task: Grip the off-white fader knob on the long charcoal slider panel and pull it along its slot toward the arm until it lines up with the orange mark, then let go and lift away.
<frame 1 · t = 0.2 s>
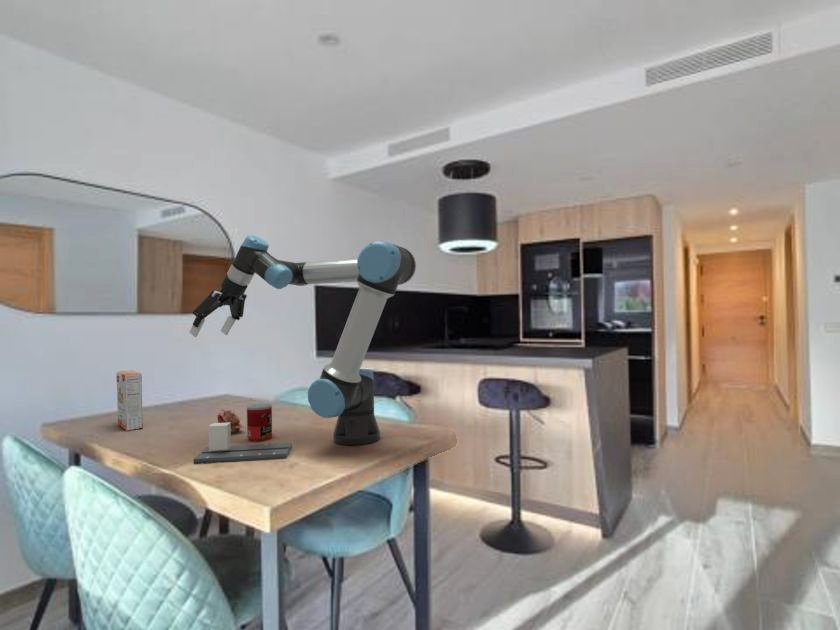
hand: (208, 333, 158), 35 cm above the table, tool tilted 35°, fingers open, 13 cm apart
cracker box: (129, 427, 179), on the table
canned food: (259, 439, 157), on the table
flower: (230, 433, 167), on the table
fader panel: (245, 455, 139), on the table
fader: (220, 438, 138), point 5 cm above the table, slide at 7.0 cm
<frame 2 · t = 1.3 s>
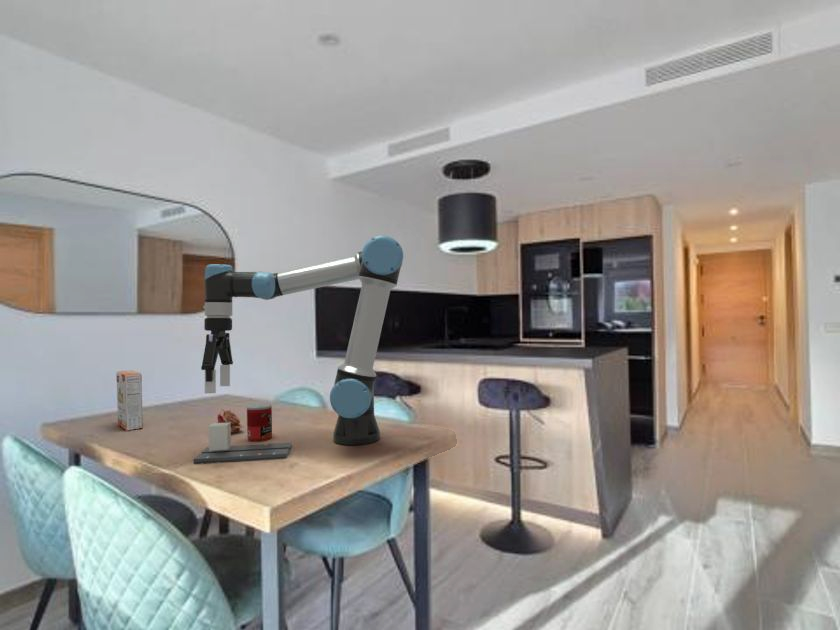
hand: (217, 389, 139), 19 cm above the table, tool pointing down, fingers open, 13 cm apart
nothing on the table moved.
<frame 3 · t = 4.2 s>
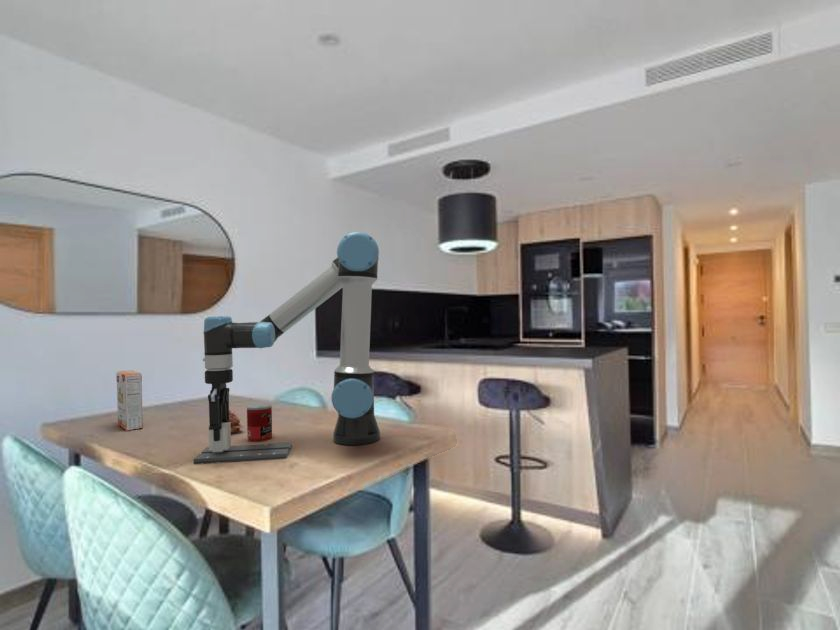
hand: (220, 449, 138), 2 cm above the table, tool pointing down, fingers closed on fader, 4 cm apart
fader: (220, 438, 138), point 5 cm above the table, slide at 7.0 cm, touching gripper
everything else where it was.
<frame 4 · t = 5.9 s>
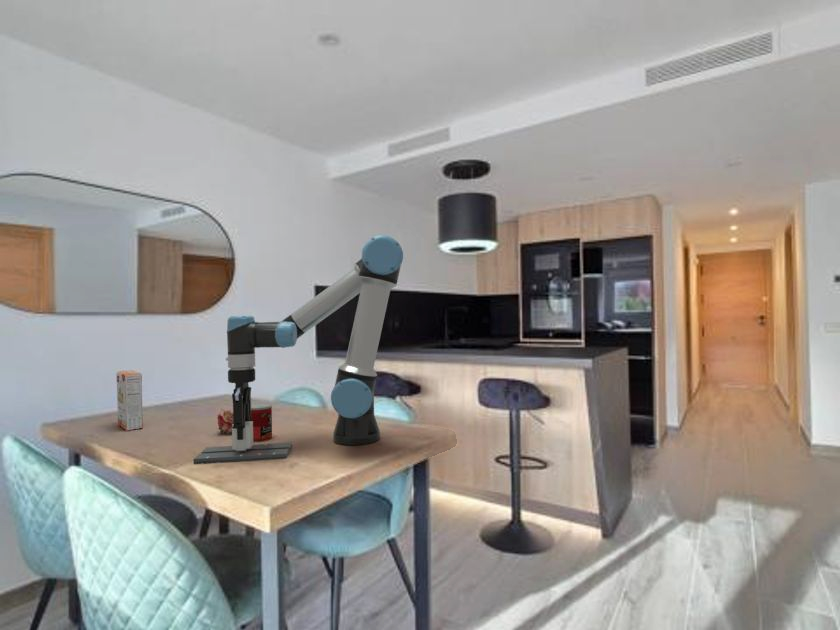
hand: (243, 447, 139), 2 cm above the table, tool pointing down, fingers closed on fader, 4 cm apart
fader: (242, 437, 139), point 5 cm above the table, slide at 0.6 cm, touching gripper
everything else where it was.
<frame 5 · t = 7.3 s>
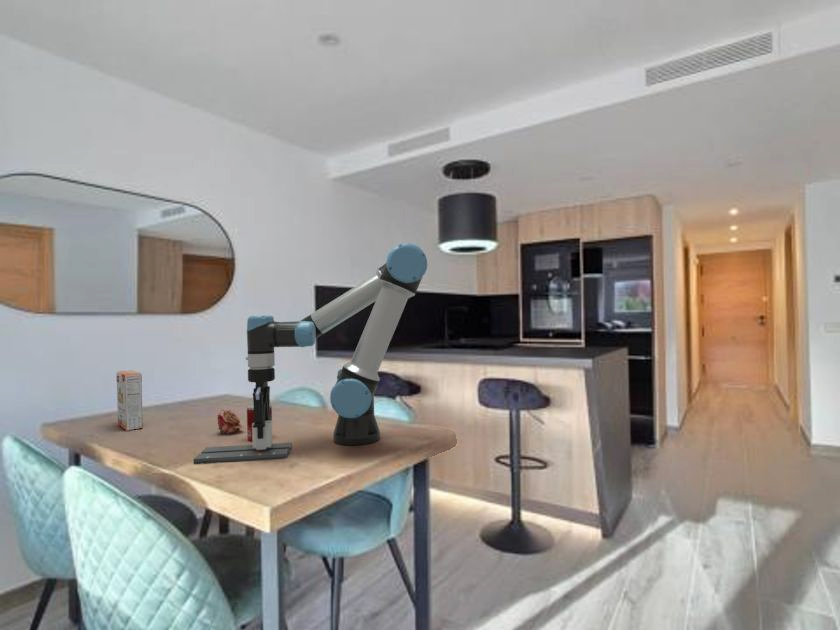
hand: (262, 446, 139), 2 cm above the table, tool pointing down, fingers closed on fader, 4 cm apart
fader: (262, 436, 139), point 5 cm above the table, slide at -5.0 cm, touching gripper
everything else where it was.
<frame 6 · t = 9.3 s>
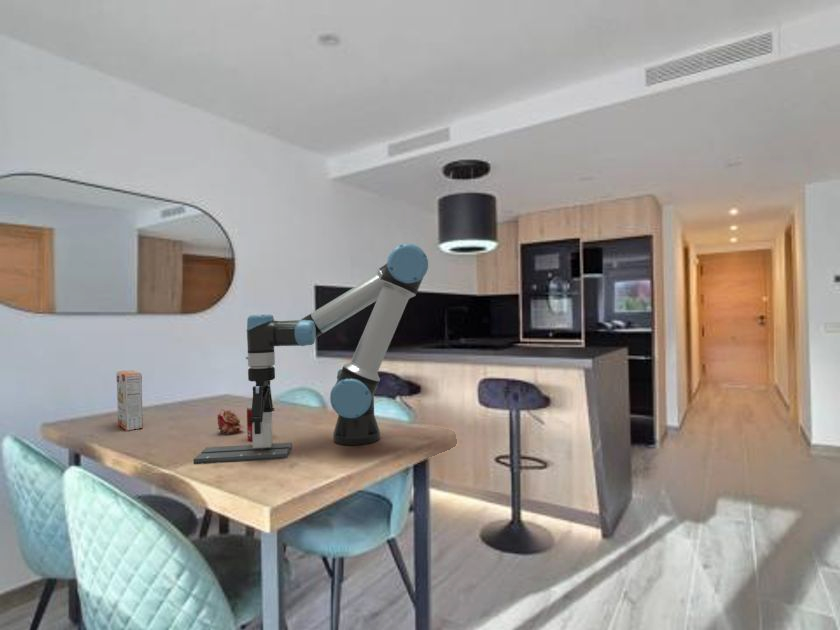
hand: (263, 438, 139), 4 cm above the table, tool pointing down, fingers open, 13 cm apart
fader: (262, 436, 139), point 5 cm above the table, slide at -5.0 cm
everything else where it was.
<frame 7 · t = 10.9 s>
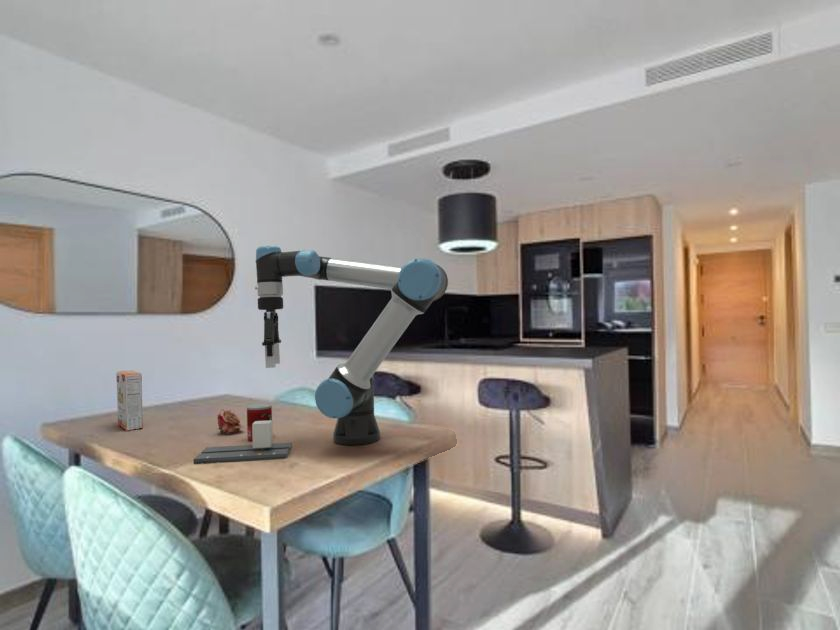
hand: (273, 365, 146), 25 cm above the table, tool pointing down, fingers open, 13 cm apart
nothing on the table moved.
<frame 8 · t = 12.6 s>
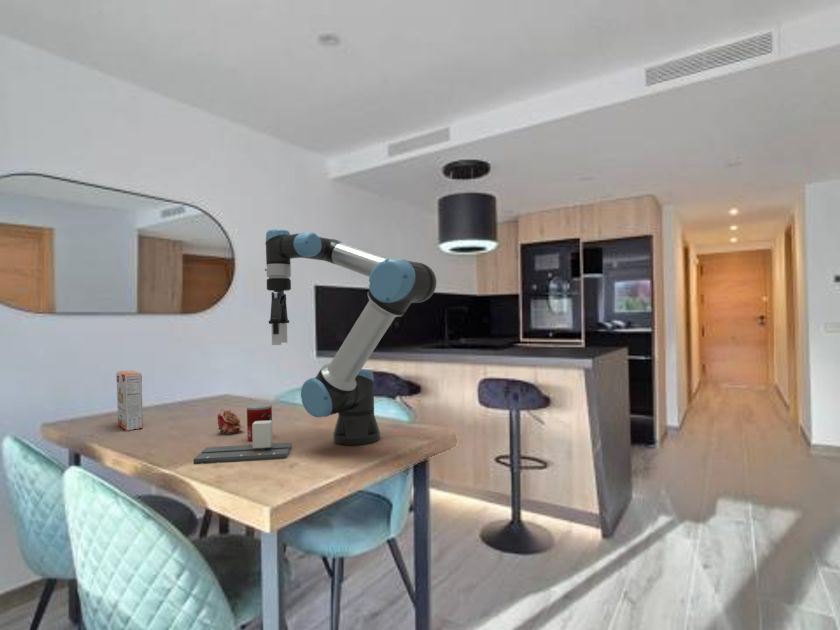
hand: (280, 343, 153), 32 cm above the table, tool pointing down, fingers open, 13 cm apart
nothing on the table moved.
at the end: fader slide at -5.0 cm; the gripper is holding nothing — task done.
